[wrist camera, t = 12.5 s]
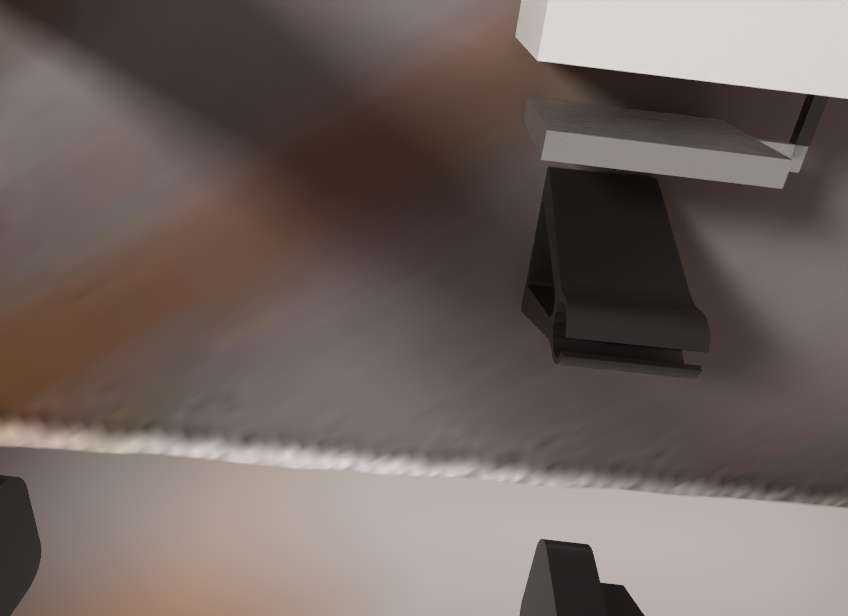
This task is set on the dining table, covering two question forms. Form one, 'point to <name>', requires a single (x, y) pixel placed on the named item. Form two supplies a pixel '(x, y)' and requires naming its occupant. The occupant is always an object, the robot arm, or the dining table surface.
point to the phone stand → (611, 277)
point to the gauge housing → (698, 40)
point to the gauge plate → (667, 142)
